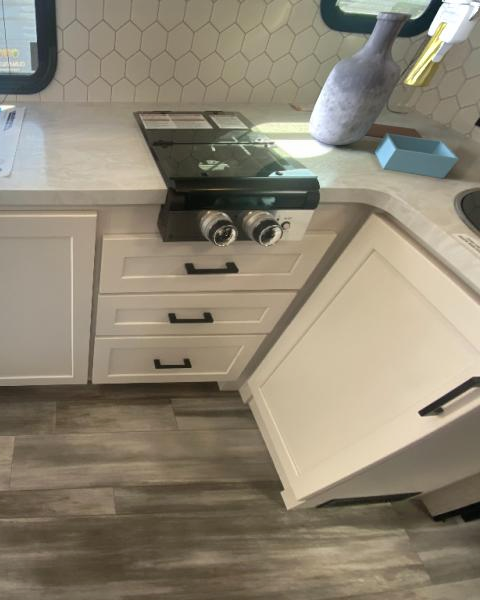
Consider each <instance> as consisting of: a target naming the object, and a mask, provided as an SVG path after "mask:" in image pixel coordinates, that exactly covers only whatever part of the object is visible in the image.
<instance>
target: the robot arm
mask: <svg viewBox="0 0 480 600" xmlns="http://www.w3.org/2000/svg"><path fill="white" fill-rule="evenodd" d="M441 2H443V3H442V4H441V6H440V7H439V8H438V11H437V13H436V15H435V16H434V18H433V21H432V22H431V24H430V26H429V29H428V31H427V35H428V36H429V37H432V36H433V35H434V33H435V31H436V30H437V28H438V26H439V25H440V23H441V22H443V23H448V24H447V25H446V27H445V28H444V30H443V31H442V33H441V35H440V36H439V40H441V41H443V42H442V44H441V45H440V46H441V47H440V48H439V49H438V51H437V52H436V53H435V54H434V55H433V57H432V59H431V61H432V62H439V61H440V60H441V59H442V57H443V56H444V54H445V53H446V52H447V51H448V50H449V49H450V50H451V48H452V47H453V45H462V44H464V43H465V42H466V41H467V40H468V38H469V37H470V35H471V34H472V32H473V31H474V29H475V27H476V26H477V24H478V22H479V20H480V0H441ZM450 50H449V51H450ZM449 51H448V52H449Z"/></svg>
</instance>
